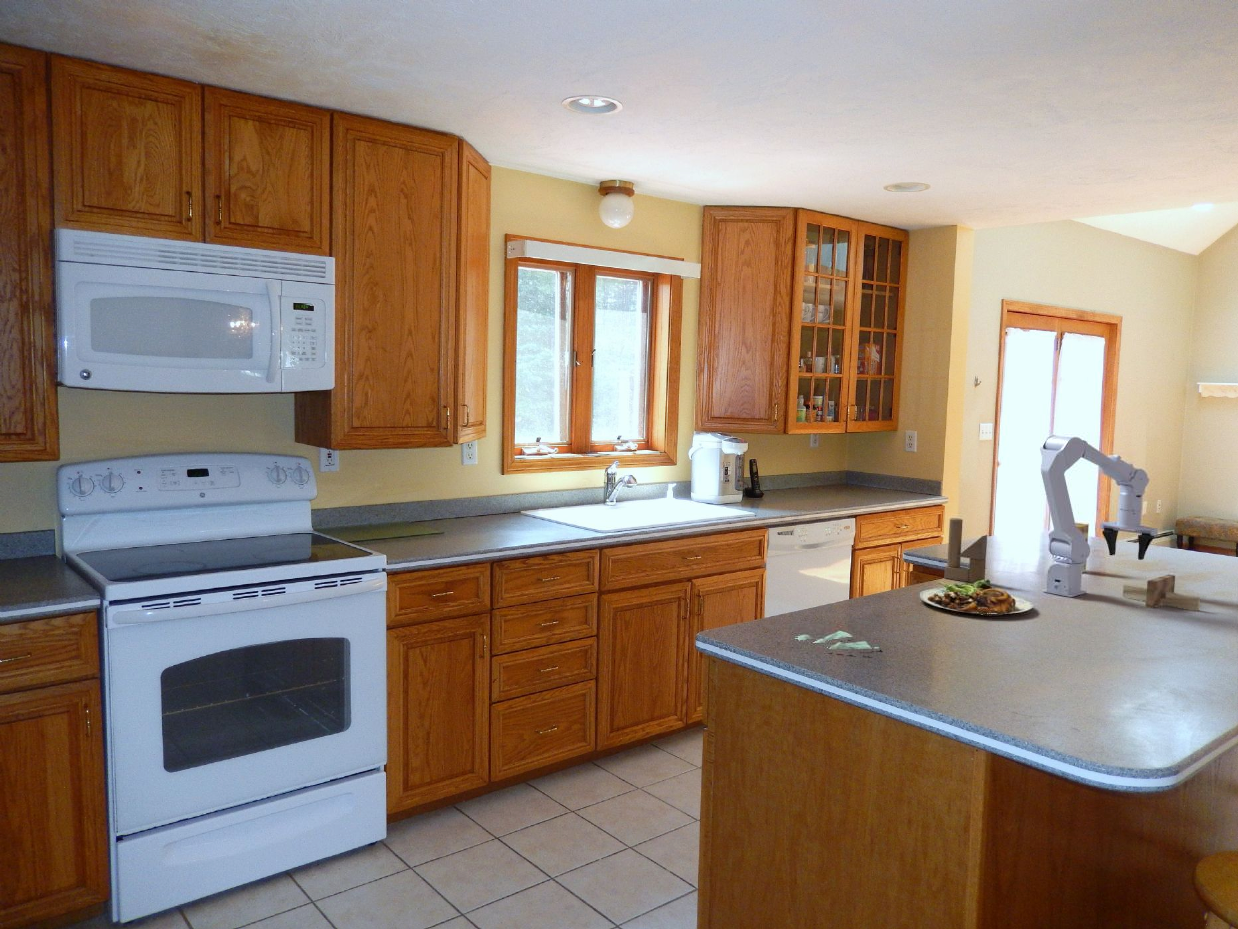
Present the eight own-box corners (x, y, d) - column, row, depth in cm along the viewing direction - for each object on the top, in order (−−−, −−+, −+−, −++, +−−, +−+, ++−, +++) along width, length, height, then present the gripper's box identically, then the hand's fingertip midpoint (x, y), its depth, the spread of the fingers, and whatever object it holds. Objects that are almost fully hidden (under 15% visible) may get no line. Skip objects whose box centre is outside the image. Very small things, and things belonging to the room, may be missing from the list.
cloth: (776, 639, 199) (776, 629, 199) (858, 631, 207) (858, 621, 207) (827, 667, 180) (828, 655, 180) (916, 657, 188) (916, 646, 188)
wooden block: (980, 584, 257) (983, 523, 255) (943, 578, 264) (947, 518, 263) (985, 582, 260) (988, 521, 258) (949, 576, 267) (952, 517, 265)
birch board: (1196, 611, 230) (1197, 598, 230) (1122, 597, 244) (1123, 584, 244) (1198, 610, 231) (1199, 597, 231) (1125, 596, 245) (1126, 584, 245)
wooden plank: (1152, 608, 232) (1154, 581, 232) (1145, 606, 234) (1147, 580, 233) (1173, 600, 241) (1175, 575, 240) (1166, 599, 242) (1168, 574, 242)
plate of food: (958, 589, 251) (958, 568, 250) (1055, 609, 229) (1055, 586, 228) (896, 605, 235) (897, 583, 234) (994, 629, 212) (995, 604, 212)
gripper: (1163, 511, 248) (1160, 559, 250) (1109, 505, 260) (1105, 551, 261) (1153, 513, 244) (1149, 562, 245) (1098, 507, 255) (1095, 554, 257)
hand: (1126, 557), depth 253 cm, fingers open, 7 cm apart
